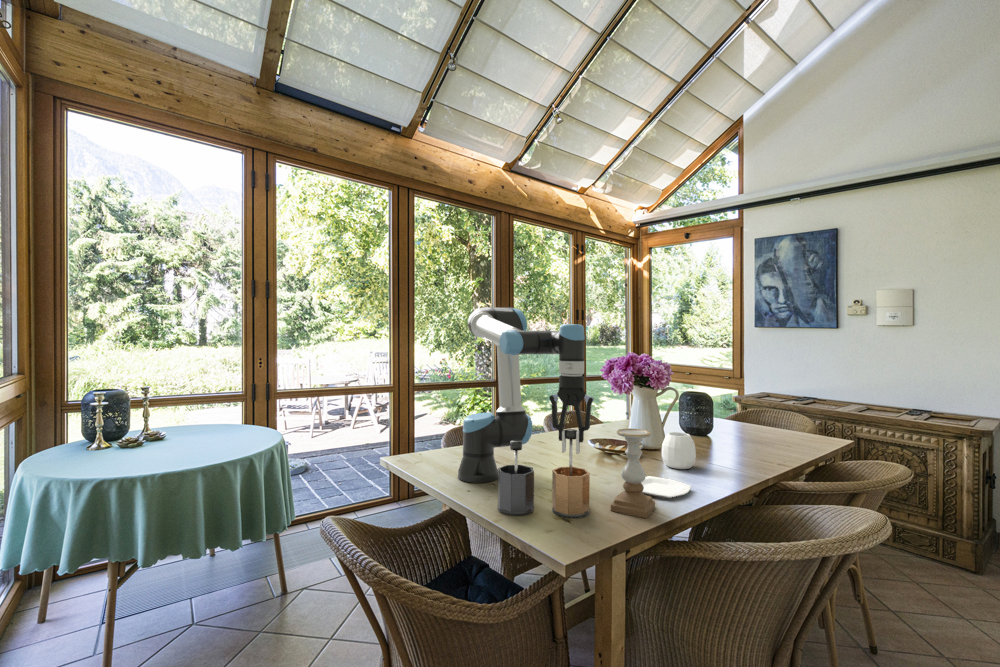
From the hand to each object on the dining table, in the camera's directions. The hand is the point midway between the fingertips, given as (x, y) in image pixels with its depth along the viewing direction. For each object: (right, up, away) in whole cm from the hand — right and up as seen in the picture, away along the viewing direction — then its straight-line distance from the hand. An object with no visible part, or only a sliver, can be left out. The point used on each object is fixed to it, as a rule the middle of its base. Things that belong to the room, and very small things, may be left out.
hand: (570, 452), depth 140 cm
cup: (+52, -19, +49) cm, 74 cm away
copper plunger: (0, -12, 0) cm, 12 cm away
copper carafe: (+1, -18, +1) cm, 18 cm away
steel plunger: (-17, -16, +2) cm, 23 cm away
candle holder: (+20, -18, +2) cm, 27 cm away
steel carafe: (-16, -18, +2) cm, 24 cm away
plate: (+34, -19, +20) cm, 44 cm away
